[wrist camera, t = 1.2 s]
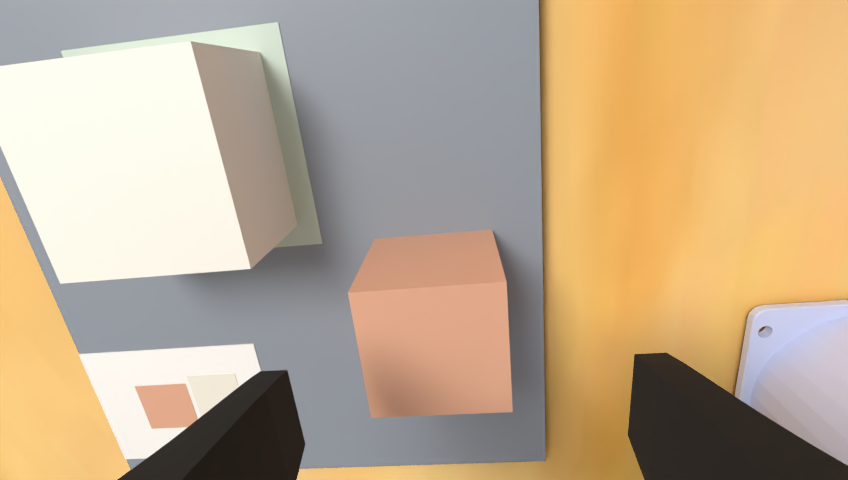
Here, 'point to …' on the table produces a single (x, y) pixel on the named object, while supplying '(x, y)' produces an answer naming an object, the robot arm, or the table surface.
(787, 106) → the table surface
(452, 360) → the orange cube
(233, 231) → the cream base block
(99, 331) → the board
